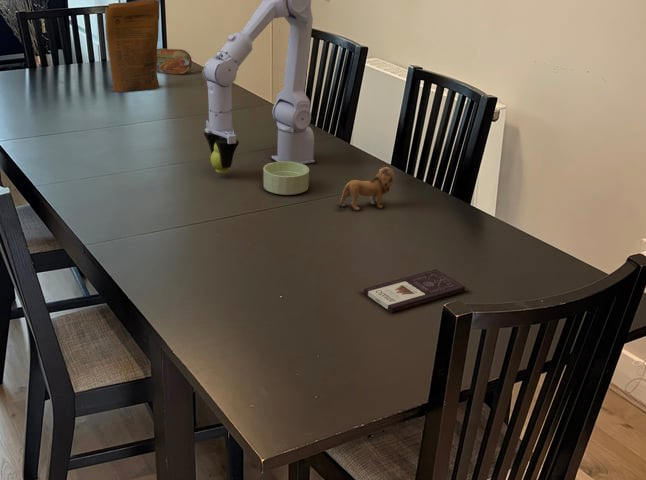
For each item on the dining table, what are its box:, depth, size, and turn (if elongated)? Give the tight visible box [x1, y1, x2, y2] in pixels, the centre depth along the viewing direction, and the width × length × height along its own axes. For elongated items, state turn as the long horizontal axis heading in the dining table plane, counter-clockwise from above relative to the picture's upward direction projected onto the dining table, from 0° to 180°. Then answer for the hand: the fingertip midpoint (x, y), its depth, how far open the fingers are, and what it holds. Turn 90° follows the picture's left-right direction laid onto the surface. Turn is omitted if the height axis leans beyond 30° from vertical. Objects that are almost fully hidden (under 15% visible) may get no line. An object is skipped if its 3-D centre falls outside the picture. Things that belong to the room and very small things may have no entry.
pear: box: [210, 136, 234, 174], centre depth 210 cm, size 6×6×9 cm
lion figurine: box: [336, 166, 395, 211], centre depth 197 cm, size 15×5×9 cm, turn 116°
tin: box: [157, 47, 193, 75], centre depth 300 cm, size 15×3×8 cm, turn 80°
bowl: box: [262, 161, 311, 196], centre depth 207 cm, size 11×11×5 cm
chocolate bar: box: [363, 269, 466, 313], centre depth 162 cm, size 9×1×18 cm
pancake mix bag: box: [104, 0, 160, 93], centre depth 274 cm, size 7×19×28 cm, turn 118°
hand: (221, 163), depth 212 cm, fingers closed on pear, 5 cm apart
